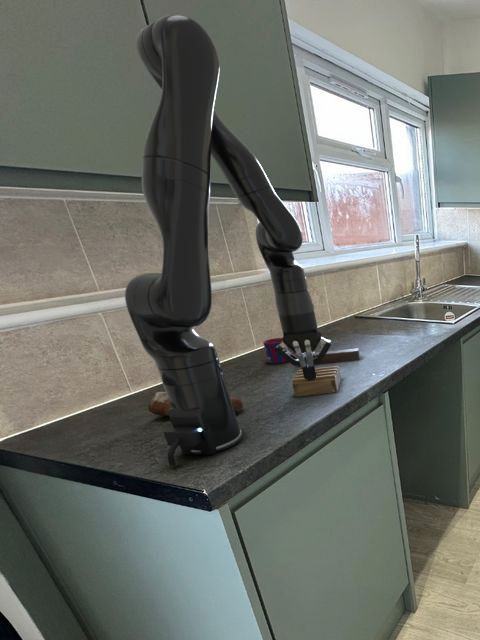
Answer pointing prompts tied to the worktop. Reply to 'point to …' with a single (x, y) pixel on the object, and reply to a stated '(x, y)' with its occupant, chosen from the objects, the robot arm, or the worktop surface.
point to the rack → (317, 382)
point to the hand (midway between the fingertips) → (311, 379)
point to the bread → (162, 404)
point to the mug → (271, 353)
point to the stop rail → (339, 356)
